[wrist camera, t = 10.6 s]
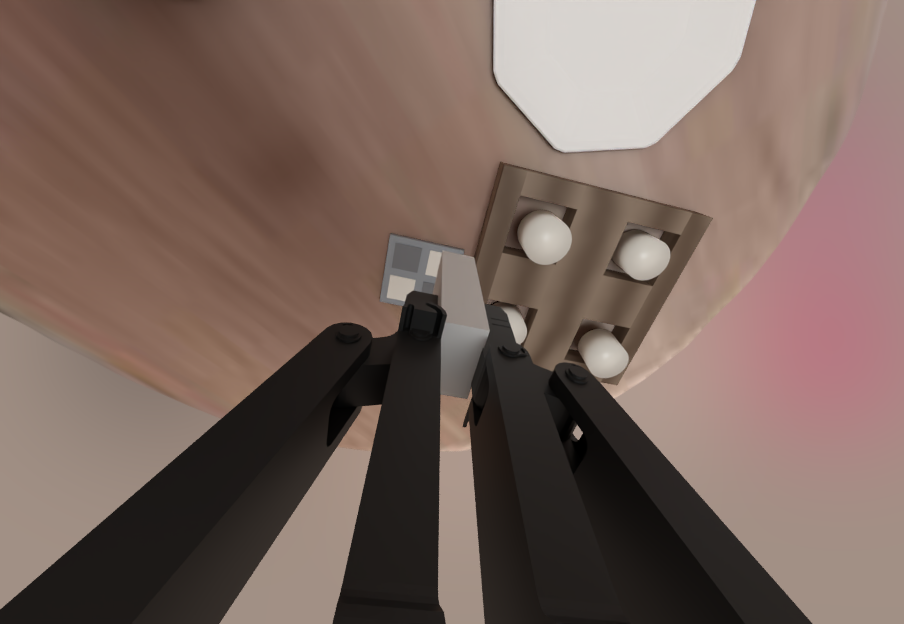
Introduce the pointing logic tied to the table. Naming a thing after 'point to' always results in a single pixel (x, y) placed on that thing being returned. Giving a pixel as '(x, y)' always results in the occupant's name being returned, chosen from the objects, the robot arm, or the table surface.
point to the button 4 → (641, 255)
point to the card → (411, 267)
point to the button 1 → (514, 320)
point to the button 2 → (544, 237)
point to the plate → (613, 64)
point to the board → (580, 264)
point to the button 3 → (602, 353)
